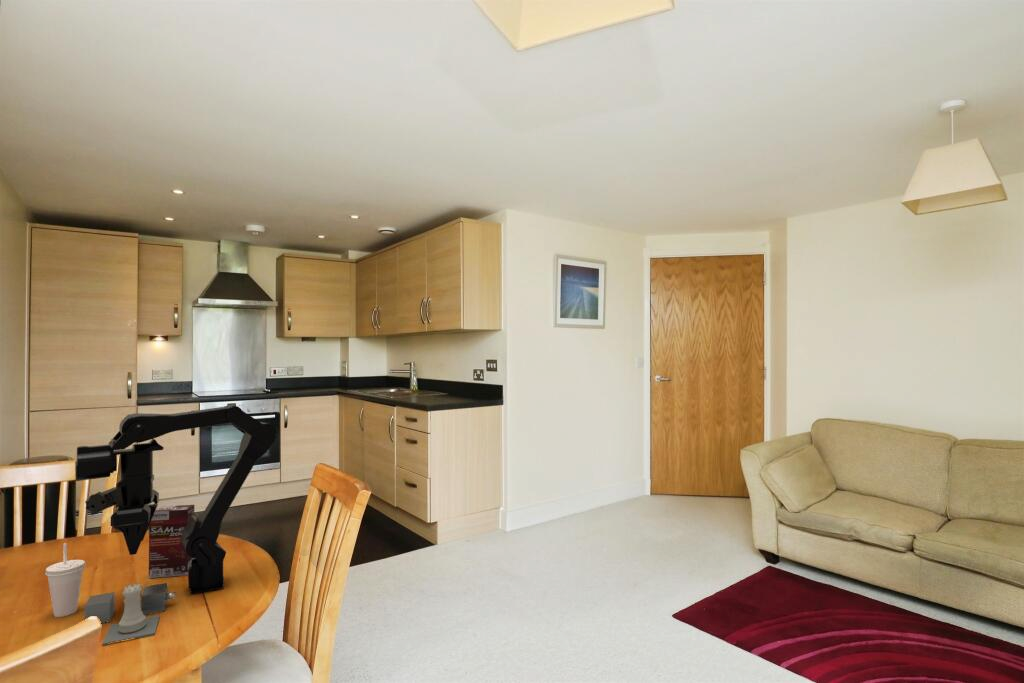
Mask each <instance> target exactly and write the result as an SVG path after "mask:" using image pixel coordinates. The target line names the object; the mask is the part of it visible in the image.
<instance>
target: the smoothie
mask: <svg viewBox="0 0 1024 683" xmlns="http://www.w3.org/2000/svg"><path fill="white" fill-rule="evenodd" d="M62 546H63V548H62V550H63V553H62V556H63V559H62V560H63V561H60V562H57V563H54V564H51V565H49V566H48V567H46V568H45V573H44V574H45V576H47V580H48V581H47V582H48V586H49V593H50V594H49V595H50V599H51V605H52V606H51V607H52V613H53V617H54V618H61V617H63V618H64V617H66V616H70V615H72V614H74V613H76V612H77V611H78V605H79V598H80V594H81V592H80V591H81V584H82V578H83V572H84V569H85V568H86V561H85V560H83V559H70V560H68V553H67V552H68V551H67V550H68V547H67V546H68V543H67V542H64V543H63V544H62Z"/></svg>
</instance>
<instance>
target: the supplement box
mask: <svg viewBox="0 0 1024 683" xmlns="http://www.w3.org/2000/svg"><path fill="white" fill-rule="evenodd" d="M190 516H194V517H195V504H185V505H183V504H182V505H181V504H180V505H167V506H166V505H162V506H157V508H156V510H155V513H154V515H153V517H152V520H151V522H150V525H149V527H148V578H149V579H154V578H169V577H181V576H185V577H186V576H188V570H189V567H190V566H191V563H192V559H195V558H192V557H190V556H189V555H188V554H187V553H186V551H185V550H184V549H183V547H182V545H181V537H182V534H181V531H182V530H183V529H184V528H185V527H186V525H187V523H188V520H189V518H190Z"/></svg>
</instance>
